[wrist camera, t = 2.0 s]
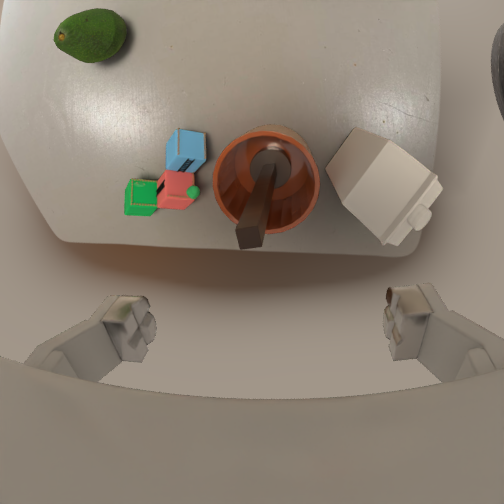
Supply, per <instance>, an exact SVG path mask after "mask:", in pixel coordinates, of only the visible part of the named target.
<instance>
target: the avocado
mask: <svg viewBox="0 0 504 504" xmlns="http://www.w3.org/2000/svg"><path fill="white" fill-rule="evenodd" d="M126 35H127V32H126V25H125V22H124V20H123V19H122V18H121V17H120V16H119V15H118V14H117V13H115V12H114V11H112V10H107V9H98V8H96V9H91V10H86V11H83V12H80V13H77V14H74V15H72V16H70V17H68V18H67V19H66V20H64V21H63V22H62V23H60V25H59V26H58V28H57V30H56V32H55V34H54V42H55V44H56V46H57V47H58V48H59V49H60V50H62V51H63V52H65V53H67V54H69V55H70V56H72V57H74V58H76V59H78V60H80V61H83V62H85V63H95V62H99V61H103V60H105V59H107V58H110V57H112V56H113V55H114V54H115V53H117V52H118V51H119V49H120V48H121V46H122V45H123V43H124V40H125V38H126Z"/></svg>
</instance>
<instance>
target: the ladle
mask: <svg viewBox="0 0 504 504" xmlns="http://www.w3.org/2000/svg"><path fill="white" fill-rule="evenodd" d="M250 174H251V177H252V179H253V180H254V182H255V186H254V188H253V190H252V192H251V195H250V197H249V199H248V202H247V204H246V206H245V208H244V211H243V213H242V215H241V218H240V220H239V222H238V224H237V227H236V229H235V231H236V235H237V239H238V243H239V247H240V249H241V250H242V249H249V248H256V247H262V244H263V240H264V235H265V230H266V225H267V220H268V215H269V211H270V206H271V201H272V196H273V191H274V189H277V188H279V187H281V186H283V185H284V184H285V183H286V182H287V181H288V179H289V178H290V175H291V160H290V157H289V156H288V154H287V153H286V152H285V151H284V150H283V149H281V148H279V147H275V146H267V147H264V148H262V149H260V150H259V151H258V152H257V153H256V154H255V156H254V157H253V159H252V161H251V163H250Z"/></svg>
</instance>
